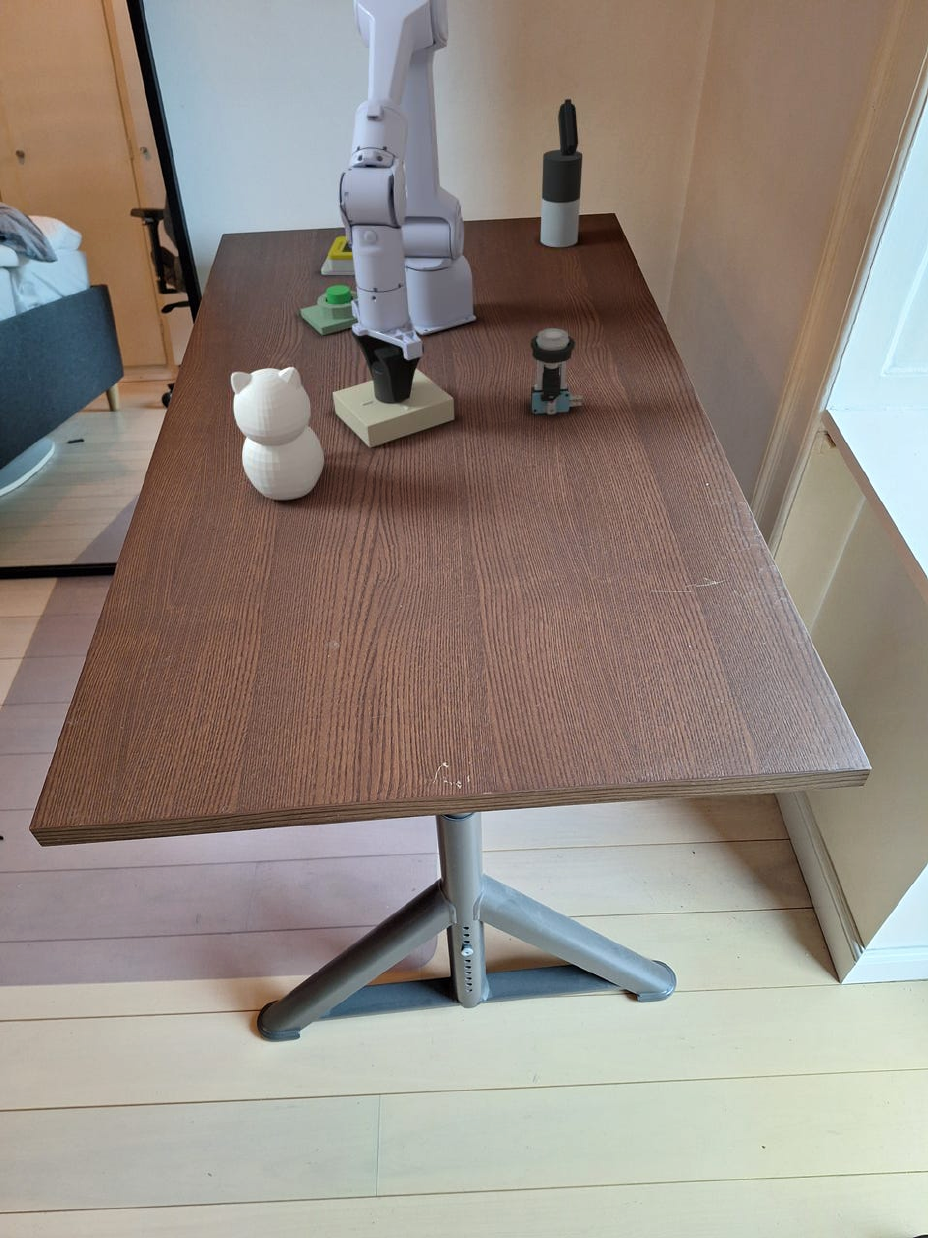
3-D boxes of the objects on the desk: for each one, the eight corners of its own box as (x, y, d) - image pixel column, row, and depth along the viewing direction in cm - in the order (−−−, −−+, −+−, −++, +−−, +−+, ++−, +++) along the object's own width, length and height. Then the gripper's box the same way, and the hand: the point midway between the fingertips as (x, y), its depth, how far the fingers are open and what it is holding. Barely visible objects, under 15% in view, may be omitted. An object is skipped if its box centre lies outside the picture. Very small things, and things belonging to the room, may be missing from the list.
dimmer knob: (374, 387, 108) (370, 356, 105) (408, 384, 108) (406, 353, 105) (375, 404, 105) (371, 372, 102) (410, 402, 105) (408, 369, 102)
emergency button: (327, 228, 147) (413, 227, 146) (330, 254, 150) (415, 253, 149) (316, 248, 141) (406, 247, 139) (320, 274, 144) (408, 274, 142)
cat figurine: (247, 515, 94) (216, 392, 84) (252, 455, 103) (225, 337, 93) (328, 507, 95) (307, 384, 84) (326, 447, 104) (307, 330, 93)
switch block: (359, 301, 135) (357, 282, 133) (382, 318, 130) (380, 299, 128) (301, 316, 132) (298, 297, 130) (322, 335, 127) (319, 315, 125)
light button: (345, 294, 131) (343, 283, 130) (355, 302, 129) (354, 290, 127) (323, 300, 130) (322, 288, 128) (333, 308, 127) (332, 296, 126)
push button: (578, 397, 111) (583, 323, 104) (583, 418, 107) (589, 343, 100) (527, 399, 111) (528, 325, 104) (530, 420, 107) (532, 345, 100)
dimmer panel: (416, 387, 114) (415, 365, 112) (454, 419, 108) (453, 396, 106) (335, 413, 110) (332, 391, 108) (369, 448, 103) (367, 425, 101)
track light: (540, 259, 154) (555, 202, 134) (533, 167, 154) (547, 97, 134) (576, 257, 154) (596, 200, 134) (569, 165, 155) (588, 94, 135)
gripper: (323, 269, 100) (338, 376, 109) (378, 312, 91) (390, 424, 100) (376, 256, 103) (387, 361, 112) (435, 297, 93) (441, 407, 103)
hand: (391, 390), depth 106 cm, fingers closed on dimmer knob, 4 cm apart
